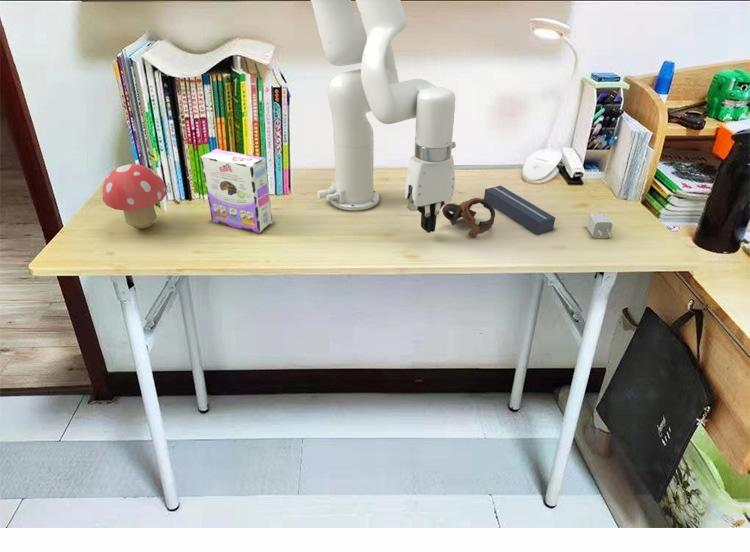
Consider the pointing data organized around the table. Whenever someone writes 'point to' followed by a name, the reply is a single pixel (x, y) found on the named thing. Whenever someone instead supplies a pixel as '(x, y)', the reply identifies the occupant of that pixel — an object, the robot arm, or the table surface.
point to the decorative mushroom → (134, 193)
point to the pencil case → (519, 209)
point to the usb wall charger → (599, 225)
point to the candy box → (237, 189)
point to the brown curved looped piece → (469, 215)
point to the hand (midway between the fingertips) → (427, 229)
